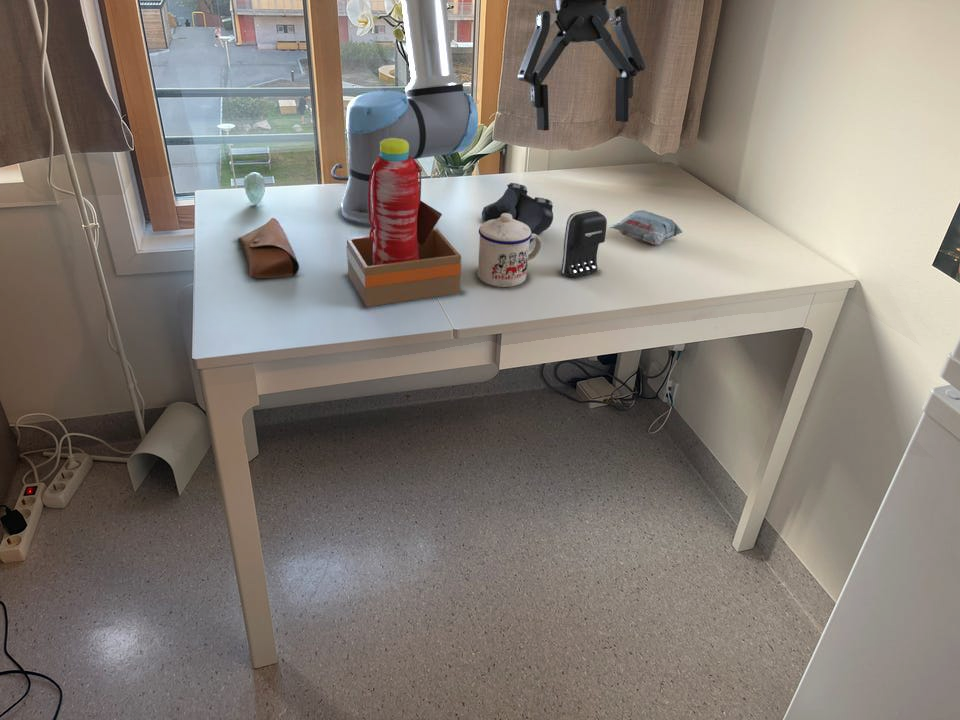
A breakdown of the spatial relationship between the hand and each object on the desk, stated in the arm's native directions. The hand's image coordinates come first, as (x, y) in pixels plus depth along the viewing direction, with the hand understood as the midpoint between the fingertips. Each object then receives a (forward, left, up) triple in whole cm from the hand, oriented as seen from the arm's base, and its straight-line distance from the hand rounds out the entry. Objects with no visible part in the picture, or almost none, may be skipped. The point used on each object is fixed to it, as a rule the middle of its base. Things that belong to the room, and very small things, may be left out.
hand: (583, 125), depth 116 cm
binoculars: (-24, +2, -28) cm, 37 cm away
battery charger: (-3, +5, -28) cm, 29 cm away
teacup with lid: (-6, -8, -28) cm, 30 cm away
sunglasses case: (-26, -47, -28) cm, 60 cm away
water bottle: (-8, -27, -28) cm, 39 cm away
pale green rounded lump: (-51, -45, -28) cm, 73 cm away
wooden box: (-8, -27, -28) cm, 39 cm away
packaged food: (-13, +25, -28) cm, 40 cm away
